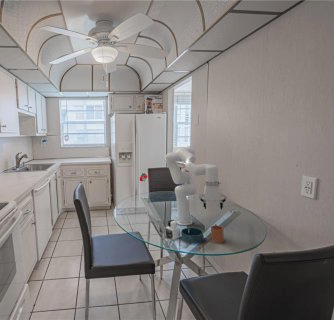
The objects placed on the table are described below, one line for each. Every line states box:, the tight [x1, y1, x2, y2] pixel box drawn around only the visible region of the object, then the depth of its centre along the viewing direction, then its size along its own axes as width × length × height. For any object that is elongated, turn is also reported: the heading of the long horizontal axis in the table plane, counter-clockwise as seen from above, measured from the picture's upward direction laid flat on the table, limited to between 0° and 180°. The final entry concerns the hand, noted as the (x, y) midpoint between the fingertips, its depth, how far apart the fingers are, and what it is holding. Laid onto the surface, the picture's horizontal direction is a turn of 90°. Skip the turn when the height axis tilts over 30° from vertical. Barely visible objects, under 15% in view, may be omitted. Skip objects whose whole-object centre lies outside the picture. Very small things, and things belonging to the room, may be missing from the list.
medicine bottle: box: [165, 219, 181, 241], centre depth 151 cm, size 7×7×12 cm
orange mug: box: [210, 223, 225, 244], centre depth 142 cm, size 11×7×9 cm
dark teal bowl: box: [180, 227, 205, 244], centre depth 145 cm, size 14×14×6 cm
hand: (213, 208), depth 143 cm, fingers open, 9 cm apart
